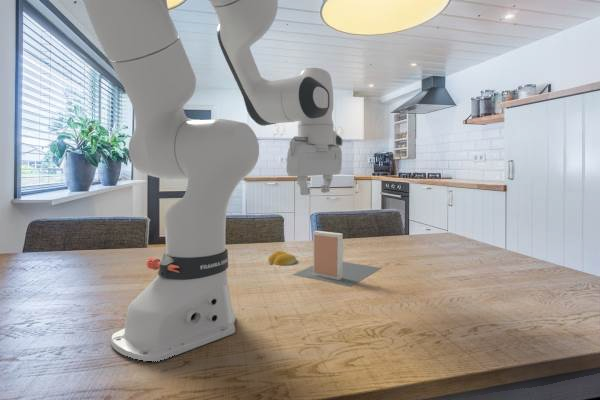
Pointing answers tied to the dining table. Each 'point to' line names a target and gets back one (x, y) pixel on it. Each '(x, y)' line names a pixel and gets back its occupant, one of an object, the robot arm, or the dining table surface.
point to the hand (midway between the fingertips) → (315, 193)
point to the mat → (343, 274)
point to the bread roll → (281, 258)
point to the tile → (327, 254)
